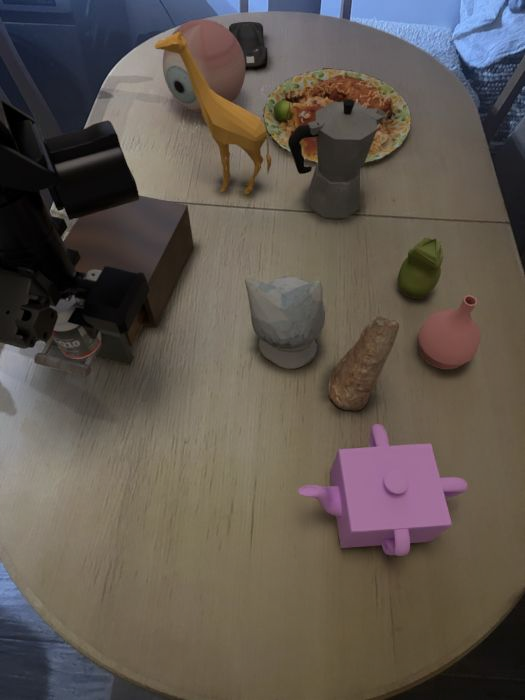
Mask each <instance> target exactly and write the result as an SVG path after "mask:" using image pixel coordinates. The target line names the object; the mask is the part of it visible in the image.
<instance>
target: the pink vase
mask: <svg viewBox="0 0 525 700" xmlns="http://www.w3.org/2000/svg"><path fill="white" fill-rule="evenodd" d="M477 303H478V300H477V298H476V297H475V296H473V295H466V296H464V297H463V299H462V301H461V303H460V305H459V307H457V308H455V309H453V308H444V309H438V310H436V311H434V312H433V313H431V314H430V315H429V317H428V318H427V319H426V320H425V321H424V322H423V323H422V324H421V326H420V328H419V331H418V335H417V338H418V339H417V341H418V349H419V353H420V355H421V356H422V358H423V360H425V361H426V362H427V363H428V364H429V365H431V366H433V367H435V368H437V369H441V370H453V369H457V368H459V367H460V366H462V365H464V364H466V363H468V362H469V361H472V360H473V358H474V356H476V354H477V352H478V349H479V346H480V343H481V336H482V334H481V330H480V327H479V325H478V323H477V322H476V321H475V319H474V318H473V317H472V315H471V314H472V312H473V310H474V309H475V307H476V305H477Z"/></svg>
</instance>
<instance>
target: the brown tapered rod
mask: <svg viewBox="0 0 525 700" xmlns="http://www.w3.org/2000/svg"><path fill="white" fill-rule="evenodd" d="M399 330H400V323H399V322H398V321H397V320H396V319H394V318H392V317H390V316H387V315H379V316H377V317H376V318H374V319H372V320H371V321H370V322H368V324H366V325H365V327H364V328H363V330H362V331H361V333H360V335H359V338H358V339H357V341H356V342H355V344H354V345H352V346H351V347H350V349H349V350H348V351H347V352H346V353H345V354H344V355H343V357H342V358H341V359H340V360H339V362H338V363H337V364H336V366H335V367H334V368H333V370H332V371H331V373H330V376H329V379H328V382H327V388H328V391H327V392H328V397H329V399H331V400H332V402H333V404H334V405H335V406H336V407H337V408H339V409H341V410H344V411H353V412H357V411H360V410H361V409H363V408H364V407H365V406H366V405H367V403H368V402H369V399H370V397H371V394H372V391H373V390H374V388H375V386H376V384H377V382H378V380H379V377H380V375H381V373H382V371H383V368H384V367H385V364H386V362H387V360H388V357H389V355H390V353H391V351H392V349H393V347H394V344H395V341H396V338H397V335H398V332H399Z"/></svg>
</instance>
